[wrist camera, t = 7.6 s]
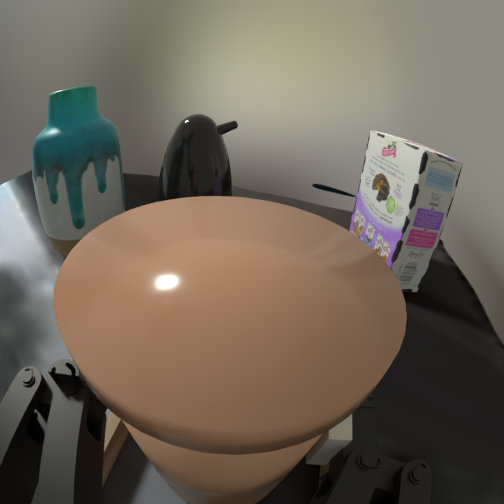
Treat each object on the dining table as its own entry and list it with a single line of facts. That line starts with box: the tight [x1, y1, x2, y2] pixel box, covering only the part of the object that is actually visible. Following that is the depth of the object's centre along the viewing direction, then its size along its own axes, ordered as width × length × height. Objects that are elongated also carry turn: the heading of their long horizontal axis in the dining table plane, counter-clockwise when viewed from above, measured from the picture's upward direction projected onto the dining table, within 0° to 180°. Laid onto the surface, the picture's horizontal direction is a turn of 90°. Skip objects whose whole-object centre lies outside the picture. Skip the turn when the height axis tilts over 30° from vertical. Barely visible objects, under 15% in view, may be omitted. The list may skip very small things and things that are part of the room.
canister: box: [54, 196, 407, 504], centre depth 10 cm, size 8×8×14 cm
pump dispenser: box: [158, 114, 238, 202], centre depth 36 cm, size 10×10×15 cm
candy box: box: [349, 130, 462, 292], centre depth 32 cm, size 14×6×16 cm, turn 2°
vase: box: [32, 86, 125, 257], centre depth 26 cm, size 11×11×19 cm
